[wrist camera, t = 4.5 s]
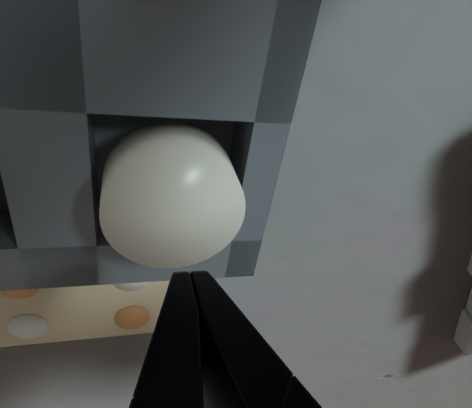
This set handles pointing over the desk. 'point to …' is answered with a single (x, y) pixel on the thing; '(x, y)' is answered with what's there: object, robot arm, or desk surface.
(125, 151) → the button
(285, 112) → the button board
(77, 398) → the desk surface
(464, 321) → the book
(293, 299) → the desk surface
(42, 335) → the pattern card
